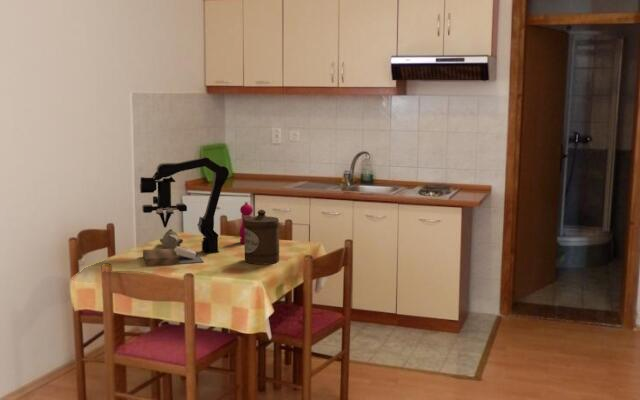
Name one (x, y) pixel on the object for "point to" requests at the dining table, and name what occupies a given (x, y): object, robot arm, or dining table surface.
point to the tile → (185, 252)
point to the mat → (190, 259)
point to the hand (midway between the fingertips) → (165, 227)
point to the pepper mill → (246, 213)
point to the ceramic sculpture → (170, 240)
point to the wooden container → (261, 239)
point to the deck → (160, 257)
